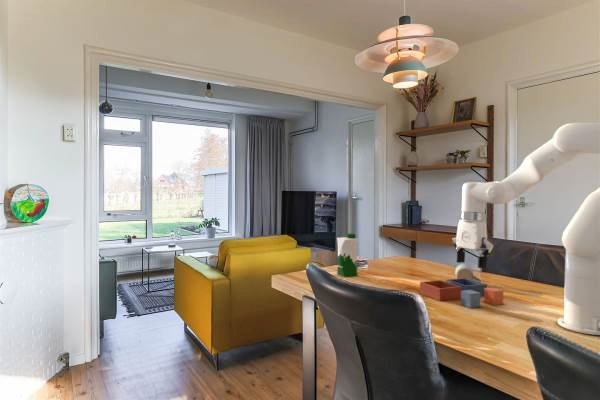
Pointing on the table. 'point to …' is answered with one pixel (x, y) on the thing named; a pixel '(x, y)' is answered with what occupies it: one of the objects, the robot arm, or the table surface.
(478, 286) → the slate bin
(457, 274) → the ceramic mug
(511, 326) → the table surface
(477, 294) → the slate block
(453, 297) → the terracotta bin
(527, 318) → the table surface
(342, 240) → the milk carton
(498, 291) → the terracotta block
